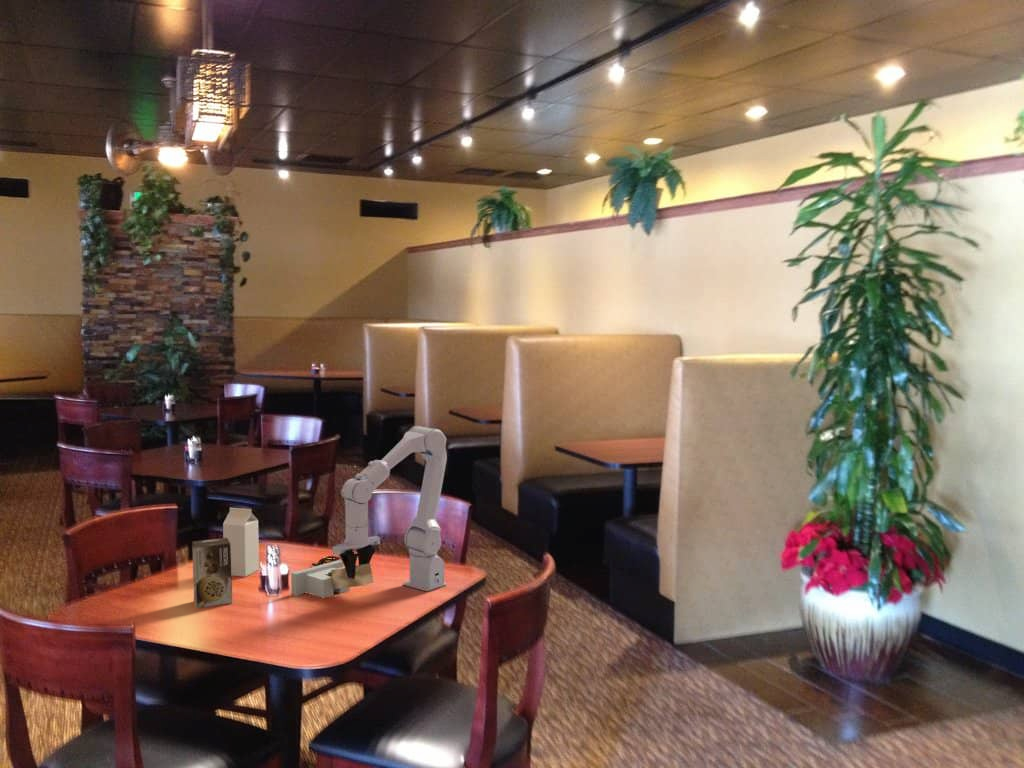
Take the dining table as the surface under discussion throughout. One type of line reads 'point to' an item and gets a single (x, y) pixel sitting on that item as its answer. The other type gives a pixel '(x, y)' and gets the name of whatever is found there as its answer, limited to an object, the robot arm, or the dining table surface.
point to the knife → (326, 559)
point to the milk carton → (242, 541)
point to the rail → (342, 581)
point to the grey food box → (212, 572)
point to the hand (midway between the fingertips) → (357, 576)
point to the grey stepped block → (316, 580)
